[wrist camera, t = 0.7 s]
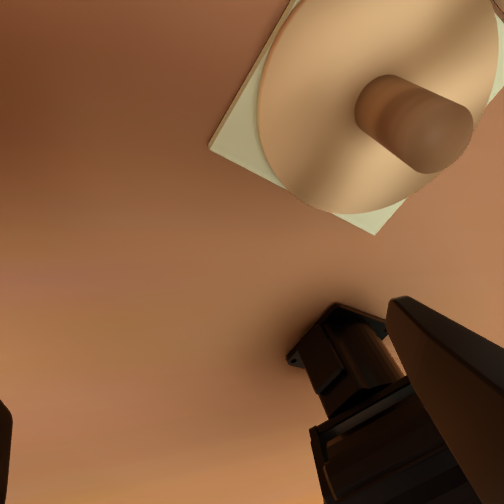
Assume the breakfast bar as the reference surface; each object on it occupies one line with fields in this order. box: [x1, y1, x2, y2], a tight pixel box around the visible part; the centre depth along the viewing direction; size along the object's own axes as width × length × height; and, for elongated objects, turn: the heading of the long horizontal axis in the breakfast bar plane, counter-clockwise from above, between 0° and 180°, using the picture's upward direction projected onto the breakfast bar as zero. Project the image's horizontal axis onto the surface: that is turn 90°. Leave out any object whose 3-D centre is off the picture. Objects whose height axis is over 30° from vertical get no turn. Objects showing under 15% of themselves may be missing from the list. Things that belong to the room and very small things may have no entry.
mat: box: [208, 0, 504, 235], centre depth 20 cm, size 12×12×1 cm
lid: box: [257, 0, 499, 214], centre depth 17 cm, size 12×12×5 cm
